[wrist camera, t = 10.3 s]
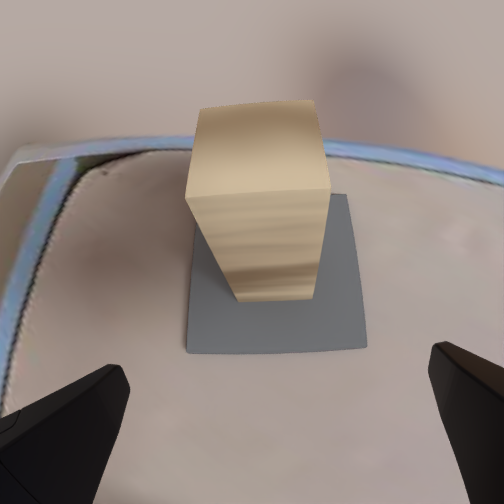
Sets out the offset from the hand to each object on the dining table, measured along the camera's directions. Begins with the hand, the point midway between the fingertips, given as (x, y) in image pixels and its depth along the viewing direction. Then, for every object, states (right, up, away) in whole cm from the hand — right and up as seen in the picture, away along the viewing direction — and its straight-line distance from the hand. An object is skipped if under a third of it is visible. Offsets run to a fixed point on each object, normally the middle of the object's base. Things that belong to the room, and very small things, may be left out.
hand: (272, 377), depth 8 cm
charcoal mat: (+1, +2, +15) cm, 15 cm away
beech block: (+1, +2, +14) cm, 15 cm away
